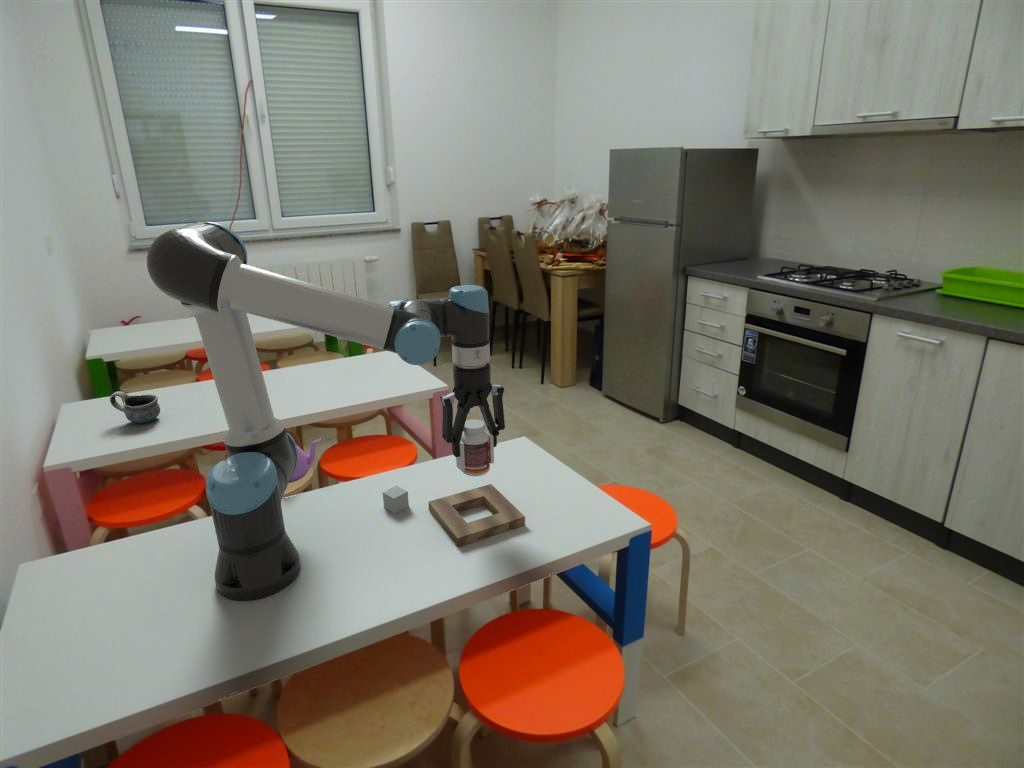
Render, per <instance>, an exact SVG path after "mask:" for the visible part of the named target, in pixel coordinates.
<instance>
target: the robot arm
mask: <svg viewBox="0 0 1024 768" xmlns="http://www.w3.org/2000/svg"><path fill="white" fill-rule="evenodd" d="M146 268H147V272H148V274H149V277H150V279H151V280H152V282H153V283H154V285H155V286H156V287H157V288H158V289H159V290H160V291H161V292H163V293H164V294H165V295H167V296H169V298H173V299H174V300H177V301H179V302H180V304H181V306H182V307H183V308H186V309H187V310H189V311H191V312H192V313H193V315H194V318H195V321H196V323H197V328H198V330H199V334H200V337H201V341H202V344H203V347H204V350H205V354H206V357H207V361H208V364H209V366H210V367H209V368H210V371H211V373H212V376H213V380H214V384H215V387H216V390H217V393H218V398H219V401H220V403H221V406H222V410H223V413H224V417H225V421H226V424H227V427H228V430H227V431H226V433H225V435H224V436H223V444H224V447H225V450H226V453H227V457H226V458H225V460H220V461H219V462H217V463H216V464H214V465H213V467H212V468H211V469H210V470H209V472H208V473H207V477H206V484H205V485H206V498H207V500H208V503H209V508H210V512H211V516H212V520H213V526H214V529H215V535H216V539H217V544H218V553H217V559H216V565H215V570H214V582H215V586H216V589H217V591H218V593H219V594H220V595H222V596H223V597H224V598H227V599H230V600H234V601H253V600H259V599H262V598H266V597H269V596H271V595H273V594H276V593H278V592H280V591H282V590H283V589H285V588H286V587H288V586H289V585H290V584H291V583H293V582H294V580H295V579H296V578H297V576H298V574H299V573H300V570H301V559H300V555H299V552H298V549H297V548H296V547H295V545H294V543H293V541H292V540H291V538H290V537H289V535H288V534H287V533H288V532H287V531H286V527H285V521H284V515H283V514H284V513H283V509H282V501H283V497H284V494H285V493H286V490H287V488H288V485H289V484H290V483H289V480H290V478H291V476H292V474H293V472H294V470H295V468H296V464H297V456H298V451H297V446H298V445H297V443H296V441H295V439H294V437H293V436H292V435H291V434H290V433H289V432H287V428H286V426H285V422H284V421H282V420H281V419H278V418H276V417H275V416H274V412H273V411H274V410H273V408H272V404H271V400H270V396H269V393H268V388H267V384H266V381H265V379H264V375H263V374H264V373H263V370H262V365H261V363H260V359H259V356H258V351H257V347H256V343H255V340H254V336H253V332H252V329H251V324H250V322H249V317H248V315H247V314H250V315H253V316H257V317H260V318H265V319H267V320H272V321H275V322H280V323H283V324H286V325H289V326H290V325H291V326H294V327H297V328H300V329H301V328H302V329H305V330H309V331H313V332H316V333H321V334H324V335H328V336H331V337H335V338H337V339H343V340H346V341H349V342H354V343H357V344H361V345H365V346H369V347H372V348H376V349H380V350H384V351H387V352H391V353H393V354H397V355H398V357H399V358H400V359H401V360H402V361H404V362H405V363H407V364H409V365H412V366H422V365H426V364H429V363H430V362H431V361H433V360H434V359H435V358H436V356H437V354H438V353H439V351H440V346H441V342H442V341H441V339H442V338H447V337H451V351H452V353H451V354H452V363H453V366H452V370H453V372H452V373H453V374H452V375H453V383H454V387H453V389H452V392H451V393H449V394H447V395H446V394H441V395H440V397H439V398H440V402H441V404H442V405H441V406H442V434H441V438H442V439H443V440H444V441H445V442H446V443H448V444H451V454H452V455H453V456H454V457H455V458H456V459H455V460H456V461H455V462H456V467H457V469H458V470H459V471H460V472H462V473H463V471H465V456H464V443H463V442H462V441H461V437H462V433H463V432H464V431H463V429H464V426H465V422H466V421H467V417H468V414H470V410H471V409H472V408H475V407H478V408H479V410H480V413H481V416H482V419H483V420H484V421H483V422H484V423H485V427H486V428H487V431H486V430H485V431H486V432H487V433H488V435H489V455H490V465H492V464H494V463H495V456H494V455H495V453H494V451H495V450H494V448H497V446H498V445H497V444H498V438H497V437H498V436H500V431H503V430H505V428H506V423H505V412H504V403H503V401H504V400H503V399H504V398H503V397H504V392H505V388H504V387H503V386H502V385H501V384H499V383H494V384H492V383H491V379H492V378H491V377H492V376H491V364H490V363H489V362H490V361H491V347H490V307H489V296H488V295H489V294H488V291H487V289H486V288H485V287H483V286H481V285H477V284H462V285H456V286H453V287H451V288H450V289H449V293H448V297H443V298H416V299H415V298H413V299H408V298H404V299H400V300H391V301H390V302H389V303H388V305H387V304H383V303H380V302H376V301H372V300H369V299H366V298H363V297H360V296H359V297H358V296H357V295H352V294H349V293H345V292H342V291H338V290H335V289H330V288H328V287H324V286H320V285H318V284H315V283H312V282H308V281H303V280H301V279H297V278H293V277H290V276H286V275H283V274H280V273H276V272H273V271H269V270H265V269H264V268H263V269H262V268H258V267H255V266H253V265H249V264H248V253H247V248H246V245H245V244H244V242H243V240H242V238H241V237H240V236H239V235H238V234H237V233H236V232H235V231H234V230H233V229H231V228H230V227H228V226H226V225H224V224H221V223H219V222H213V221H196V222H192V223H188V224H186V225H183V226H181V227H178V228H174V229H171V230H168V231H166V232H163V233H161V234H160V235H159V236H158V237H157V238H155V239H154V240H153V242H152V243H151V244H150V246H149V248H148V251H147V255H146ZM490 394H491V398H492V409H493V414H492V412H491V409H490V404H489V402H488V397H489V396H490ZM455 399H456V401H457V404H456V410H457V411H456V412H455V413H456V414H455V416H454V408H453V405H455V403H454V402H455ZM454 417H455V418H454ZM453 419H454V421H453ZM296 445H297V446H296Z"/></svg>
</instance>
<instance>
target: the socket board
mask: <svg viewBox="0 0 1024 768" xmlns="http://www.w3.org/2000/svg"><path fill="white" fill-rule="evenodd" d="M482 505H484V506H485V508H487V509H488V510H489V512H490V513H491V515H489V516H485V517H482V518H479V519H475V520H473V521H472V520H471V521H469V522H467V521H466V520H465V519H464V518H463V517H462V515H461V514H460V513H459V512H463V511H466V510H469V509H472V508H473V509H474V508H475V507H479V506H482ZM428 511H429V512H430V513H431V514H432V517H434V518H435V520H436V521H437V522H438V524H439V525H440V526H441V527H442V529H443V530H444V532H445V533H446V534H447V535H448V536H449V538H450V539H451V540H452V542H453V543H454V544H455V545H456V547H458V548H460V547H462V546H466V545H469V544H472V543H475V542H478V541H481V540H484V539H488V538H490V537H494V536H496V535H499V534H503V533H506V532H509V531H511V530H515V529H518V528H521V527H524V526H526V516H525V515H524V514H523V513H522V511H520V510H519V509H518V508H517V507H516V506H515V505H514V504H512V502H511V501H510V500H508V498H507V497H505V495H504V494H502V493H501V492H500V491H499V490H498V489H497V488H496V486H494V485H493V484H492V483H490V484H486V485H485V484H484V485H483V486H478V487H475V488H472V489H468V490H465V491H461V492H458V493H455V494H450V495H447V496H443V497H440V498H436V499H433V500H429V501H428ZM492 514H493V515H492Z"/></svg>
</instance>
